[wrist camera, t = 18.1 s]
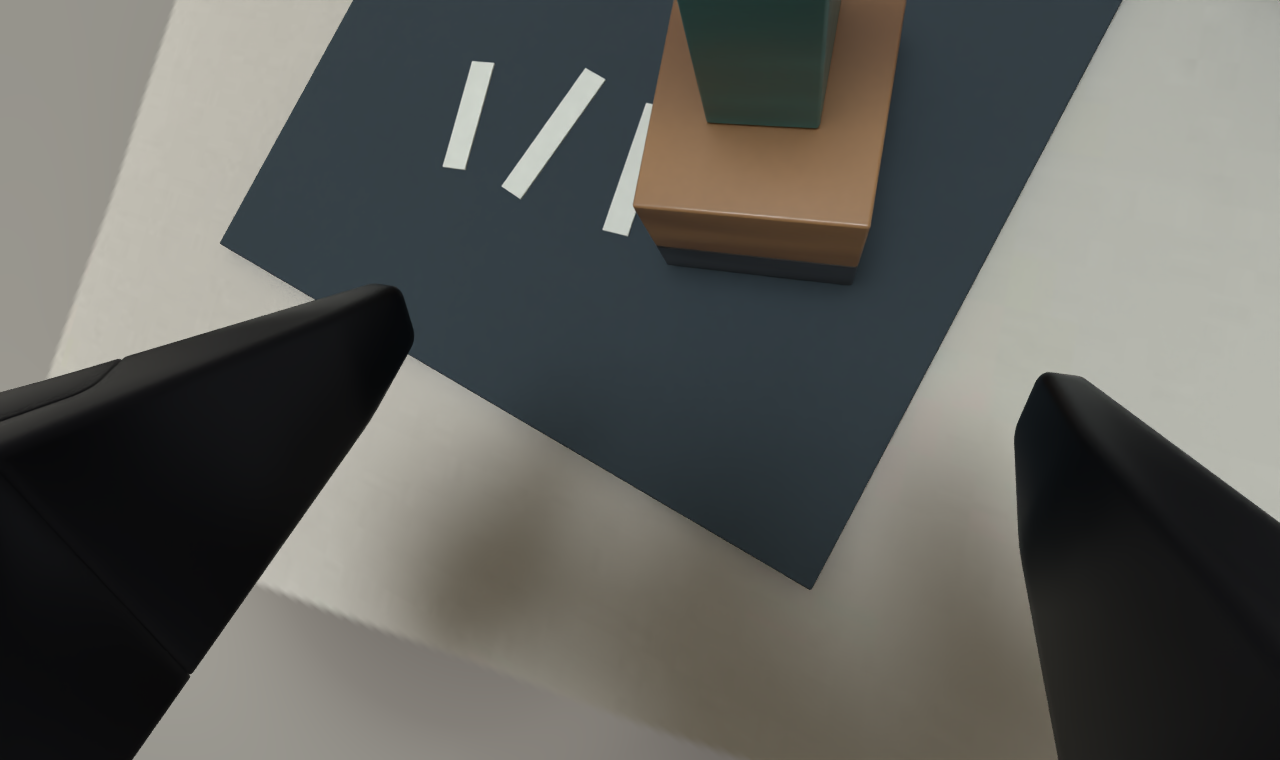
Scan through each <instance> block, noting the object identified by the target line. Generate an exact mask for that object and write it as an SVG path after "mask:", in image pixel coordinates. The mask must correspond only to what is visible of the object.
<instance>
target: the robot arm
mask: <svg viewBox="0 0 1280 760" xmlns="http://www.w3.org/2000/svg"><path fill="white" fill-rule="evenodd" d="M413 342H414V329H413V326H412V322H411V319H410V316H409V312H408V309H407V306H406V303H405V299H404V296H403V294H402V292H401V291H400V290H399V289H398V288H397V287H395V286H391V285H383V284H376V283H375V284H368V285H365V286H362V287H358V288H355V289H351V290H348V291H345V292H341V293H338V294H335V295H331V296H328V297H325V298H321V299H318V300H315V301H311V302H308V303H304V304H301V305H298V306H294V307H291V308H288V309H284V310H281V311H278V312H274V313H271V314H268V315H264V316H261V317H257V318H254V319H251V320H247V321H244V322H241V323H237V324H234V325H231V326H227V327H224V328H221V329H217V330H214V331H210V332H207V333H204V334H200V335H197V336H194V337H190V338H187V339H184V340H180V341H177V342H174V343H170V344H167V345H163V346H160V347H157V348H153V349H150V350H147V351H143V352H140V353H137V354H133V355H130V356H127V357H125V358H123V359H122V360H121V359H116V360H113V361H109V362H106V363H103V364H99V365H96V366H93V367H89V368H86V369H82V370H79V371H75V372H72V373H68V374H65V375H61V376H58V377H54V378H51V379H48V380H44V381H41V382H37V383H33V384H29V385H26V386H22V387H19V388H15V389H11V390H7V391H4V392H0V760H132V759H133V758H134V756H135V755H136V753H137V752H138V751H139V749H140V748H141V746H142V745H143V744H144V742H145V741H146V739H147V738H148V737H149V735H150V734H151V732H152V731H153V729H154V728H155V727H156V725H157V724H158V722H159V721H160V720H161V718H162V717H163V715H164V714H165V712H166V711H167V710H168V708H169V707H170V705H171V704H172V702H173V701H174V699H175V698H176V697H177V695H178V694H179V693H180V691H181V690H182V688H183V687H184V685H185V684H186V682H187V681H188V680H189V678H190V675H189V674H192V673H193V672H194V670H195V669H196V667H197V666H198V664H199V663H200V662H201V660H202V659H203V658H204V656H205V655H206V653H207V652H208V650H209V649H210V647H211V646H212V645H213V643H214V642H215V641H216V639H217V638H218V636H219V635H220V633H221V632H222V631H223V629H224V628H225V626H226V625H227V623H228V622H229V621H230V619H231V618H232V616H233V615H234V613H235V612H236V611H237V609H238V608H239V606H240V605H241V604H242V602H243V601H244V599H245V598H246V596H247V595H248V593H249V592H250V591H251V589H252V588H253V587H254V585H255V584H256V582H257V581H258V579H259V578H260V577H261V575H262V574H263V572H264V571H265V570H266V568H267V567H268V565H269V564H270V562H271V561H272V560H273V558H274V557H275V555H276V554H277V553H278V551H279V550H280V548H281V547H282V545H283V544H284V543H285V541H286V540H287V538H288V537H289V535H290V534H291V533H292V531H293V530H294V528H295V527H296V526H297V524H298V523H299V521H300V520H301V518H302V517H303V516H304V514H305V513H306V511H307V510H308V509H309V507H310V506H311V504H312V503H313V501H314V500H315V499H316V497H317V496H318V494H319V493H320V491H321V490H322V489H323V487H324V486H325V484H326V483H327V482H328V480H329V479H330V477H331V476H332V474H333V473H334V472H335V470H336V469H337V467H338V466H339V465H340V463H341V462H342V460H343V459H344V457H345V456H346V455H347V453H348V452H349V450H350V449H351V448H352V446H353V445H354V443H355V442H356V440H357V439H358V438H359V436H360V435H361V433H362V432H363V430H364V429H365V427H366V426H367V424H368V423H369V421H370V420H371V418H372V417H373V415H374V413H375V412H376V410H377V408H378V406H379V405H380V403H381V401H382V399H383V398H384V396H385V394H386V392H387V390H388V389H389V387H390V385H391V383H392V381H393V380H394V378H395V376H396V374H397V373H398V371H399V369H400V367H401V365H402V364H403V362H404V360H405V358H406V356H407V355H408V353H409V351H410V349H411V347H412V345H413ZM1014 450H1015V473H1016V495H1017V518H1018V536H1019V548H1020V555H1021V561H1022V567H1023V573H1024V578H1025V583H1026V589H1027V594H1028V599H1029V605H1030V610H1031V616H1032V621H1033V626H1034V632H1035V637H1036V642H1037V648H1038V653H1039V658H1040V664H1041V669H1042V675H1043V680H1044V685H1045V691H1046V696H1047V701H1048V707H1049V712H1050V717H1051V723H1052V728H1053V733H1054V739H1055V744H1056V750H1057V755H1058V760H1280V523H1279V522H1278V521H1277V520H1275V519H1274V518H1273V517H1271V516H1270V515H1269V514H1267V513H1266V512H1265V511H1263V510H1262V509H1260V508H1259V507H1258V506H1256V505H1255V504H1254V503H1252V502H1251V501H1250V500H1248V499H1247V498H1246V497H1244V496H1243V495H1242V494H1240V493H1239V492H1237V491H1236V490H1235V489H1233V488H1232V487H1231V486H1229V485H1228V484H1227V483H1225V482H1224V481H1223V480H1221V479H1220V478H1219V477H1217V476H1216V475H1214V474H1213V473H1212V472H1210V471H1209V470H1208V469H1206V468H1205V467H1204V466H1202V465H1201V464H1200V463H1198V462H1197V461H1196V460H1194V459H1193V458H1191V457H1190V456H1189V455H1187V454H1186V453H1185V452H1183V451H1182V450H1181V449H1179V448H1178V447H1177V446H1175V445H1174V444H1173V443H1171V442H1170V441H1168V440H1167V439H1166V438H1164V437H1163V436H1162V435H1160V434H1159V433H1158V432H1156V431H1155V430H1154V429H1152V428H1151V427H1150V426H1148V425H1147V424H1145V423H1144V422H1143V421H1141V420H1140V419H1139V418H1137V417H1136V416H1135V415H1133V414H1132V413H1131V412H1129V411H1128V410H1127V409H1125V408H1124V407H1123V406H1121V405H1120V404H1118V403H1117V402H1116V401H1114V400H1113V399H1112V398H1110V397H1109V396H1108V395H1106V394H1105V393H1104V392H1102V391H1101V390H1100V389H1098V388H1097V387H1095V386H1094V385H1093V384H1091V383H1090V382H1089V381H1087V380H1086V379H1084V378H1083V377H1080V376H1075V375H1067V374H1059V373H1051V372H1046V373H1044V374H1042V375H1040V377H1039V378H1038V379H1037V380H1036V382H1035V384H1034V387H1033V389H1032V391H1031V393H1030V396H1029V398H1028V400H1027V402H1026V405H1025V407H1024V409H1023V411H1022V414H1021V416H1020V418H1019V421H1018V423H1017V426H1016V430H1015V436H1014Z"/></svg>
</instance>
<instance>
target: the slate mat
mask: <svg viewBox="0 0 1280 760" xmlns="http://www.w3.org/2000/svg"><path fill="white" fill-rule="evenodd" d="M1121 2H1122V0H907V1H906V7H905V14H904V20H903V26H902V32H901V39H900V45H899V51H898V58H897V64H896V70H895V76H894V83H893V89H892V95H891V101H890V108H889V114H888V120H887V127H886V133H885V139H884V145H883V152H882V158H881V164H880V171H879V177H878V183H877V189H876V196H875V202H874V208H873V215H872V221H871V227H870V230H869V233H868V236H867V239H866V242H865V245H864V249H863V252H862V255H861V258H860V261H859V264H858V267H857V271H856V274H855V277H854V280H853V283H852V285H843V284H834V283H825V282H816V281H808V280H799V279H790V278H782V277H773V276H764V275H755V274H747V273H738V272H729V271H720V270H712V269H703V268H694V267H685V266H677V265H668V264H667V263H666V261H665V260H664V258H663V256H662V255H661V253H660V251H659V250H658V248H657V246H656V245H655V243H654V241H653V240H652V238H651V236H650V234H649V233H648V231H647V229H646V228H645V226H644V224H643V223H642V221H641V219H640V218H639V216H638V214H637V213H636V211H635V209H634V208H633V201H634V196H635V191H636V186H637V181H638V176H639V171H640V166H641V161H642V155H643V150H644V145H645V140H646V135H647V130H648V125H649V120H650V115H651V110H652V105H653V100H654V95H655V90H656V85H657V80H658V75H659V70H660V65H661V60H662V55H663V50H664V45H665V40H666V35H667V30H668V25H669V20H670V15H671V10H672V5H673V0H353V2H352V3H351V5H350V7H349V9H348V11H347V13H346V14H345V16H344V18H343V20H342V22H341V23H340V25H339V27H338V29H337V31H336V33H335V34H334V36H333V38H332V40H331V42H330V43H329V45H328V47H327V49H326V51H325V53H324V54H323V56H322V58H321V60H320V62H319V64H318V65H317V67H316V69H315V71H314V73H313V74H312V76H311V78H310V80H309V82H308V84H307V85H306V87H305V89H304V91H303V93H302V94H301V96H300V98H299V100H298V102H297V104H296V105H295V107H294V109H293V111H292V113H291V114H290V116H289V118H288V120H287V122H286V124H285V125H284V127H283V129H282V131H281V133H280V134H279V136H278V138H277V140H276V142H275V144H274V145H273V147H272V149H271V151H270V153H269V155H268V156H267V158H266V160H265V162H264V164H263V165H262V167H261V169H260V171H259V173H258V175H257V176H256V178H255V180H254V182H253V184H252V185H251V187H250V189H249V191H248V193H247V195H246V196H245V198H244V200H243V202H242V204H241V205H240V207H239V209H238V211H237V213H236V215H235V216H234V218H233V220H232V222H231V224H230V225H229V227H228V229H227V231H226V233H225V235H224V236H223V238H222V240H221V242H220V244H221V245H223V246H225V247H226V248H228V249H230V250H231V251H233V252H235V253H237V254H238V255H240V256H242V257H243V258H245V259H247V260H249V261H250V262H252V263H254V264H255V265H257V266H259V267H260V268H262V269H264V270H266V271H267V272H269V273H271V274H272V275H274V276H276V277H278V278H279V279H281V280H283V281H284V282H286V283H288V284H289V285H291V286H293V287H295V288H296V289H298V290H300V291H301V292H303V293H305V294H306V295H308V296H310V297H312V298H313V299H315V300H318V299H321V298H325V297H328V296H331V295H335V294H338V293H341V292H345V291H348V290H351V289H355V288H358V287H362V286H365V285H368V284H375V283H376V284H383V285H391V286H395V287H397V288H398V289H399V290H400V291H401V292H402V294H403V296H404V299H405V303H406V306H407V309H408V312H409V316H410V319H411V322H412V326H413V329H414V342H413V345H412V347H411V349H410V351H409V353H408V354H409V355H410V356H412V357H414V358H416V359H417V360H419V361H421V362H422V363H424V364H426V365H427V366H429V367H431V368H433V369H434V370H436V371H438V372H439V373H441V374H443V375H445V376H446V377H448V378H450V379H451V380H453V381H455V382H456V383H458V384H460V385H462V386H463V387H465V388H467V389H468V390H470V391H472V392H473V393H475V394H477V395H479V396H480V397H482V398H484V399H485V400H487V401H489V402H491V403H492V404H494V405H496V406H497V407H499V408H501V409H502V410H504V411H506V412H508V413H509V414H511V415H513V416H514V417H516V418H518V419H519V420H521V421H523V422H525V423H526V424H528V425H530V426H531V427H533V428H535V429H537V430H538V431H540V432H542V433H543V434H545V435H547V436H548V437H550V438H552V439H554V440H555V441H557V442H559V443H560V444H562V445H564V446H565V447H567V448H569V449H571V450H572V451H574V452H576V453H577V454H579V455H581V456H583V457H584V458H586V459H588V460H589V461H591V462H593V463H594V464H596V465H598V466H600V467H601V468H603V469H605V470H606V471H608V472H610V473H612V474H613V475H615V476H617V477H618V478H620V479H622V480H623V481H625V482H627V483H629V484H630V485H632V486H634V487H635V488H637V489H639V490H640V491H642V492H644V493H646V494H647V495H649V496H651V497H652V498H654V499H656V500H658V501H659V502H661V503H663V504H664V505H666V506H668V507H669V508H671V509H673V510H675V511H676V512H678V513H680V514H681V515H683V516H685V517H686V518H688V519H690V520H692V521H693V522H695V523H697V524H698V525H700V526H702V527H704V528H705V529H707V530H709V531H710V532H712V533H714V534H715V535H717V536H719V537H721V538H722V539H724V540H726V541H727V542H729V543H731V544H732V545H734V546H736V547H738V548H739V549H741V550H743V551H744V552H746V553H748V554H750V555H751V556H753V557H755V558H756V559H758V560H760V561H761V562H763V563H765V564H767V565H768V566H770V567H772V568H773V569H775V570H777V571H779V572H780V573H782V574H784V575H785V576H787V577H789V578H790V579H792V580H794V581H796V582H797V583H799V584H801V585H802V586H804V587H806V588H807V589H809V590H811V589H812V588H813V586H814V584H815V582H816V580H817V578H818V576H819V574H820V572H821V570H822V569H823V567H824V565H825V563H826V561H827V559H828V557H829V555H830V553H831V552H832V550H833V548H834V546H835V544H836V542H837V540H838V538H839V536H840V534H841V533H842V531H843V529H844V527H845V525H846V523H847V521H848V519H849V517H850V516H851V514H852V512H853V510H854V508H855V506H856V504H857V502H858V500H859V498H860V497H861V495H862V493H863V491H864V489H865V487H866V485H867V483H868V481H869V480H870V478H871V476H872V474H873V472H874V470H875V468H876V466H877V464H878V462H879V461H880V459H881V457H882V455H883V453H884V451H885V449H886V447H887V445H888V444H889V442H890V440H891V438H892V436H893V434H894V432H895V430H896V428H897V426H898V425H899V423H900V421H901V419H902V417H903V415H904V413H905V411H906V409H907V407H908V406H909V404H910V402H911V400H912V398H913V396H914V394H915V392H916V390H917V389H918V387H919V385H920V383H921V381H922V379H923V377H924V375H925V373H926V371H927V370H928V368H929V366H930V364H931V362H932V360H933V358H934V356H935V354H936V353H937V351H938V349H939V347H940V345H941V343H942V341H943V339H944V337H945V335H946V334H947V332H948V330H949V328H950V326H951V324H952V322H953V320H954V318H955V317H956V315H957V313H958V311H959V309H960V307H961V305H962V303H963V301H964V299H965V298H966V296H967V294H968V292H969V290H970V288H971V286H972V284H973V282H974V280H975V279H976V277H977V275H978V273H979V271H980V269H981V267H982V265H983V263H984V262H985V260H986V258H987V256H988V254H989V252H990V250H991V248H992V246H993V244H994V243H995V241H996V239H997V237H998V235H999V233H1000V231H1001V229H1002V227H1003V226H1004V224H1005V222H1006V220H1007V218H1008V216H1009V214H1010V212H1011V210H1012V208H1013V207H1014V205H1015V203H1016V201H1017V199H1018V197H1019V195H1020V193H1021V191H1022V190H1023V188H1024V186H1025V184H1026V182H1027V180H1028V178H1029V176H1030V174H1031V172H1032V171H1033V169H1034V167H1035V165H1036V163H1037V161H1038V159H1039V157H1040V155H1041V153H1042V152H1043V150H1044V148H1045V146H1046V144H1047V142H1048V140H1049V138H1050V136H1051V135H1052V133H1053V131H1054V129H1055V127H1056V125H1057V123H1058V121H1059V119H1060V117H1061V116H1062V114H1063V112H1064V110H1065V108H1066V106H1067V104H1068V102H1069V100H1070V99H1071V97H1072V95H1073V93H1074V91H1075V89H1076V87H1077V85H1078V83H1079V81H1080V80H1081V78H1082V76H1083V74H1084V72H1085V70H1086V68H1087V66H1088V64H1089V63H1090V61H1091V59H1092V57H1093V55H1094V53H1095V51H1096V49H1097V47H1098V45H1099V44H1100V42H1101V40H1102V38H1103V36H1104V34H1105V32H1106V30H1107V28H1108V26H1109V25H1110V23H1111V21H1112V19H1113V17H1114V15H1115V13H1116V11H1117V9H1118V8H1119V6H1120V4H1121Z"/></svg>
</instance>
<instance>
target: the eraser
mask: <svg viewBox="0 0 1280 760" xmlns="http://www.w3.org/2000/svg"><path fill="white" fill-rule="evenodd" d="M906 1H907V0H673V5H672V10H671V15H670V20H669V25H668V30H667V35H666V40H665V45H664V50H663V55H662V60H661V65H660V70H659V75H658V80H657V85H656V90H655V95H654V100H653V105H652V110H651V115H650V120H649V125H648V130H647V135H646V140H645V145H644V150H643V155H642V161H641V166H640V171H639V176H638V181H637V186H636V191H635V196H634V201H633V208H634V209H635V211H636V213H637V214H638V216H639V218H640V219H641V221H642V223H643V224H644V226H645V228H646V229H647V231H648V233H649V234H650V236H651V238H652V240H653V241H654V243H655V245H656V246H657V248H658V250H659V251H660V253H661V255H662V256H663V258H664V260H665V261H666V263H667V264H668V265H677V266H685V267H694V268H703V269H712V270H720V271H729V272H738V273H747V274H755V275H764V276H773V277H782V278H790V279H799V280H808V281H816V282H825V283H834V284H843V285H852V283H853V280H854V277H855V274H856V271H857V267H858V264H859V261H860V258H861V255H862V252H863V249H864V245H865V242H866V239H867V236H868V233H869V230H870V227H871V221H872V215H873V208H874V202H875V196H876V189H877V183H878V177H879V171H880V164H881V158H882V152H883V145H884V139H885V133H886V127H887V120H888V114H889V108H890V101H891V95H892V89H893V83H894V76H895V70H896V64H897V58H898V51H899V45H900V39H901V32H902V26H903V20H904V14H905V7H906Z"/></svg>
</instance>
